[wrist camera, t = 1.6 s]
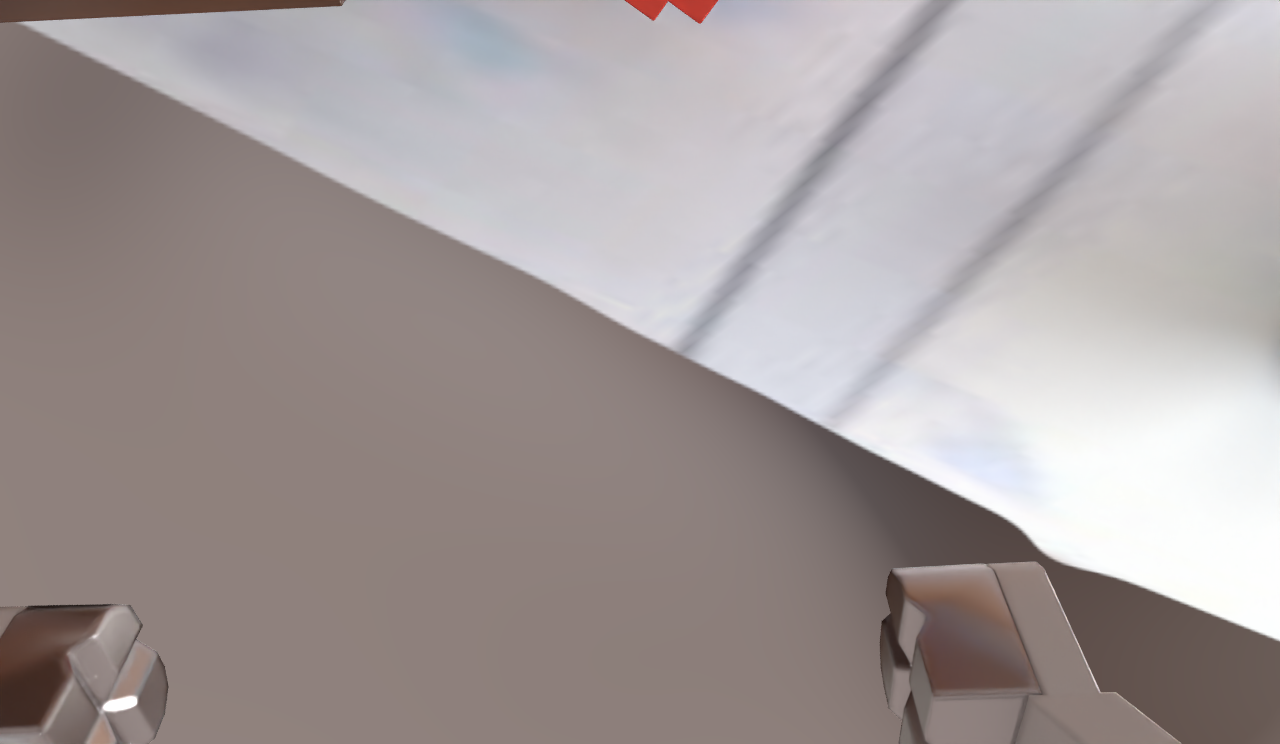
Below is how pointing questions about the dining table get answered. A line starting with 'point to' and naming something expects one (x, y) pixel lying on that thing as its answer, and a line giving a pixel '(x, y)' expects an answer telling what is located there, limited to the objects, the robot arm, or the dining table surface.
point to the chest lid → (138, 7)
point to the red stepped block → (693, 3)
